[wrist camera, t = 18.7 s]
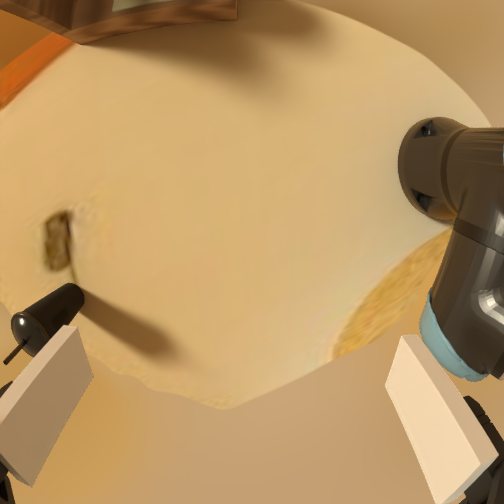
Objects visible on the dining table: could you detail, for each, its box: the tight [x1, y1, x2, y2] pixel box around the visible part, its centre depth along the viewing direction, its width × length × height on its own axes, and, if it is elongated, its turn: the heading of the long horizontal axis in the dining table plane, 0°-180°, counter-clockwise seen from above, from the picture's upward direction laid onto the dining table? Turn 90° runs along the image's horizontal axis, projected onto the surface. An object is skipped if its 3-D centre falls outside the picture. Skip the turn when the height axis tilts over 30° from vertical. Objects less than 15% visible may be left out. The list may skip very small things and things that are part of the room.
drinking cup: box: [3, 283, 84, 365], centre depth 35 cm, size 8×8×20 cm
